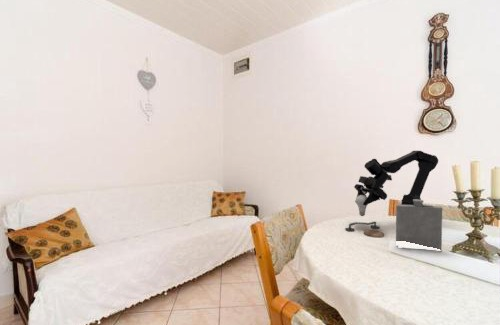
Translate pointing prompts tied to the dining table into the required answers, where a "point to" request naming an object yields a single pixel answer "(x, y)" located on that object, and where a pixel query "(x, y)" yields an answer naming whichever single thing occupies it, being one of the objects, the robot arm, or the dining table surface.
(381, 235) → the walnut coaster
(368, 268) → the dining table surface
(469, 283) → the dining table surface
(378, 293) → the dining table surface
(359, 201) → the lightbulb
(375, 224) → the grey metal bracket
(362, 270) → the dining table surface
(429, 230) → the hip flask
